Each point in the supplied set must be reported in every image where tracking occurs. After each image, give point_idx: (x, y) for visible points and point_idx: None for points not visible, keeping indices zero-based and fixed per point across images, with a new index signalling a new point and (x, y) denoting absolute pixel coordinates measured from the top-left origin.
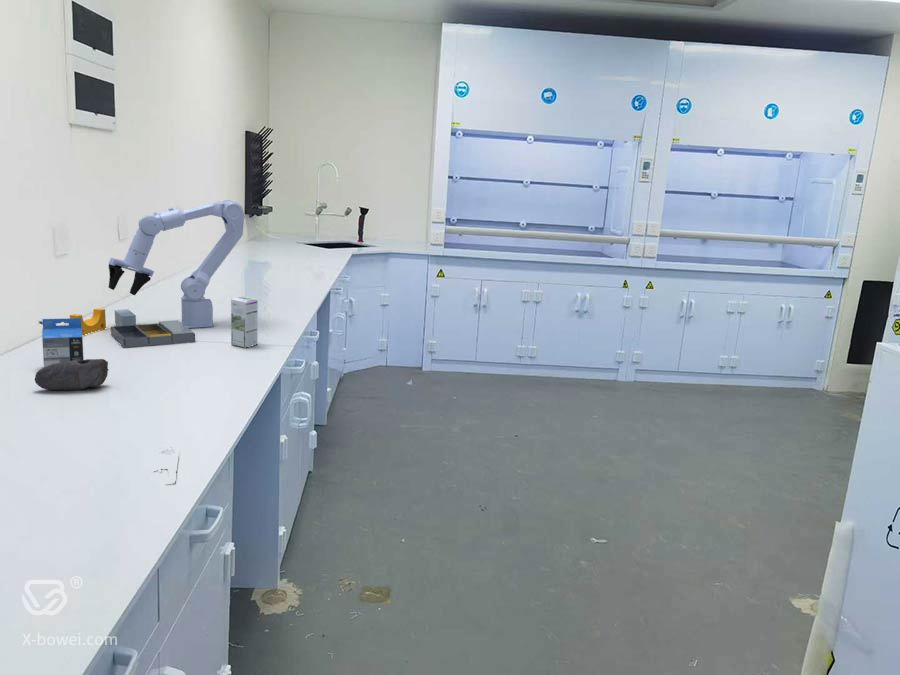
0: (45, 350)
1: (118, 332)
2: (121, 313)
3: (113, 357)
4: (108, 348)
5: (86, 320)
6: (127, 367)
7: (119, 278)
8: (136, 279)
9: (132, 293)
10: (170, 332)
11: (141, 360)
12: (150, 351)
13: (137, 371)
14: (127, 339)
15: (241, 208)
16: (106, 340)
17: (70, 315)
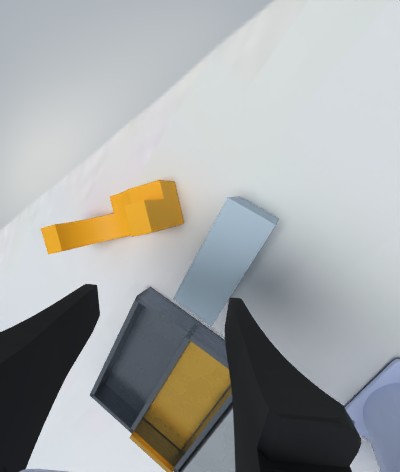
0: None
1: (114, 351)
2: (200, 266)
3: (63, 398)
4: (86, 357)
5: (128, 195)
6: (51, 444)
7: (53, 397)
8: (245, 391)
9: (226, 322)
10: (188, 461)
11: (80, 446)
12: (120, 434)
13: (50, 464)
14: (96, 399)
15: None
16: (116, 313)
17: (42, 230)
